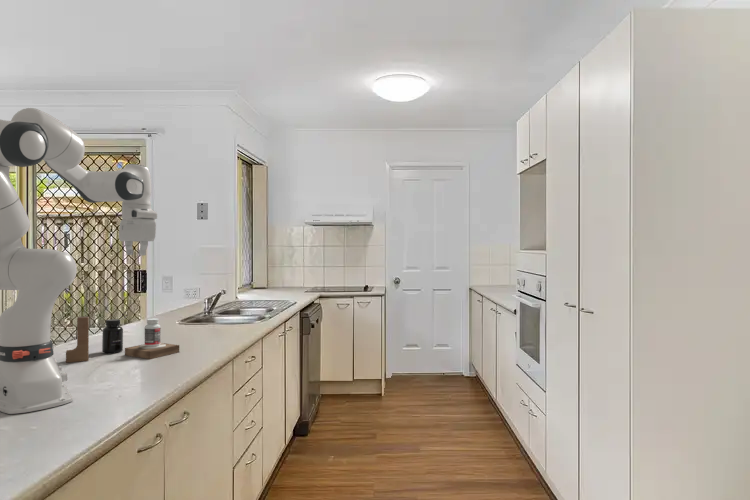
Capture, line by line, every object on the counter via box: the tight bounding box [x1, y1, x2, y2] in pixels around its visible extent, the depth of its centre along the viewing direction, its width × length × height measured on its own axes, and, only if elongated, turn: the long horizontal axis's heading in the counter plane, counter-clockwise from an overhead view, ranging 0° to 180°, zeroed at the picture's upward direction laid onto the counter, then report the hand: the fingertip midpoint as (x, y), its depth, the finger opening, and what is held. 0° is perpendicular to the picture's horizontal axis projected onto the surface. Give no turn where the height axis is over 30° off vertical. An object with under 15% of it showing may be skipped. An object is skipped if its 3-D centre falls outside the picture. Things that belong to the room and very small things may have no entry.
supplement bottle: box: [101, 318, 124, 355], centre depth 187 cm, size 7×7×12 cm
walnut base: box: [124, 342, 180, 360], centre depth 185 cm, size 13×13×3 cm
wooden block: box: [65, 316, 90, 364], centre depth 173 cm, size 7×3×15 cm, turn 118°
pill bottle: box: [144, 317, 162, 347], centre depth 185 cm, size 5×5×10 cm
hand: (135, 255), depth 169 cm, fingers open, 8 cm apart
